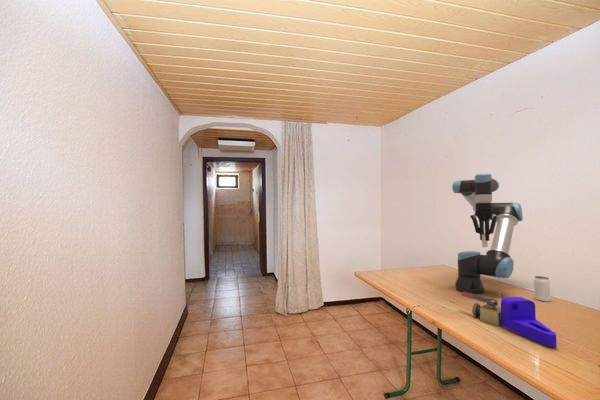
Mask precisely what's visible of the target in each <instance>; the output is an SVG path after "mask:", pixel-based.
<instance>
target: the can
mask: <svg viewBox="0 0 600 400" xmlns="http://www.w3.org/2000/svg"><path fill="white" fill-rule="evenodd" d="M533 284H534V285H533V290H534V291H533V292H534V299H535V300H536V301H539V302H544V301H545V302H547V303H548V301H549V302H551V280H550V278H549V277H547V276H543V275H542V276H540V275H535V276H534V279H533ZM545 302H544V303H545Z"/></svg>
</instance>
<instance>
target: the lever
mask: <svg viewBox="0 0 600 400" xmlns="http://www.w3.org/2000/svg"><path fill="white" fill-rule="evenodd" d="M461 297H464V298H468V299H471V300H476V301H478V302H479V301H480V302H482V303H485V304H488V305H491V306H497V307H499V303H498V302H499V301H498V300H497V299H494V298H488V297H484V296H480V295H478V294H473V293H468V292H462V291H461Z"/></svg>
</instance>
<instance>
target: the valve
mask: <svg viewBox="0 0 600 400" xmlns="http://www.w3.org/2000/svg"><path fill="white" fill-rule="evenodd" d="M471 309H472V310H471V311H472V312H471V313H472V315H473V317H476V318H479V317H480V319H479V320H480V321H481V322H483V323H486V324H490V325H493V326H496V327H500V326H502V325H501V306H491V305H488V304H487V303H485V304H484V305H482V306H481V304H480V303H477V302H475V303H474V304H473V305H472V308H471Z"/></svg>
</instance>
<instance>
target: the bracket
mask: <svg viewBox="0 0 600 400" xmlns="http://www.w3.org/2000/svg"><path fill="white" fill-rule="evenodd" d="M500 307H501V325H500V326H502V327H503V328H505V329H507V330H509V331H512V332H514V333H516V334H518V335H520V336H522V337H525V338H528V339H529V340H533V341H535V342H537V343H539V344H541V345H543V346H547V347H551V348H557V333H556V332H555V331H553V330H551V328H550V327H548V326H546V325H545V324H543V323H542V322H541V321H539V320H538V319H537V316H536V313H537V312H536V304H535V302H534V301H533V300H530V299H528V298H525V297H523V296H505V297H503V298H501V300H500Z"/></svg>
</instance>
